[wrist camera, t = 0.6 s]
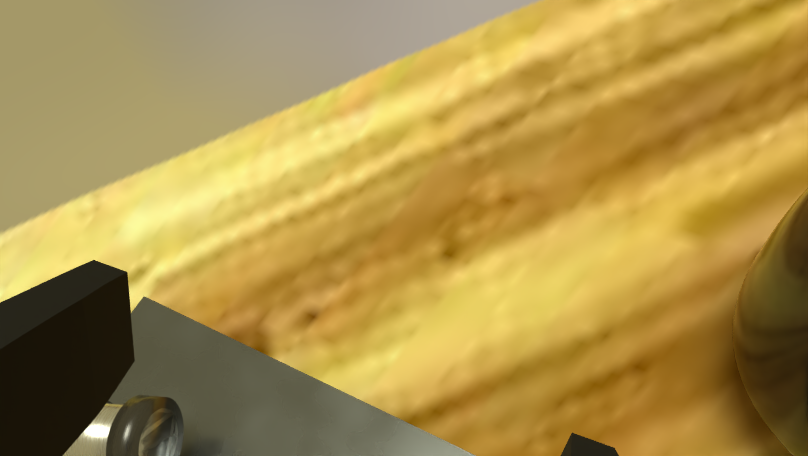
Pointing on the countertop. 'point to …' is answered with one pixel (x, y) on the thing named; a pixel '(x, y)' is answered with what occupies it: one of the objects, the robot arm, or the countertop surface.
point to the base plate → (255, 398)
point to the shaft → (133, 429)
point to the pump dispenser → (777, 330)
